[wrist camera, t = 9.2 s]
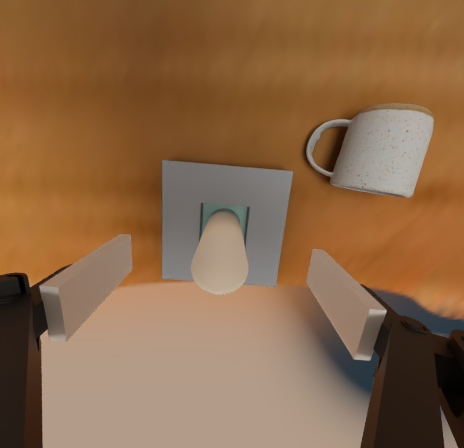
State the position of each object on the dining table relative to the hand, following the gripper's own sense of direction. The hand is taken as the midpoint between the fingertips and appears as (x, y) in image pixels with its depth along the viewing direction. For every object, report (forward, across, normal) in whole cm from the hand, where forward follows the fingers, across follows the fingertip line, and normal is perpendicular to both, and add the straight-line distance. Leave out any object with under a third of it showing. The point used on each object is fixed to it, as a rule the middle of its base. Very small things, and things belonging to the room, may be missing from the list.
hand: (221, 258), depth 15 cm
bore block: (+13, 0, -1) cm, 13 cm away
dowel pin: (+11, 0, -1) cm, 11 cm away
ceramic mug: (+13, +14, +9) cm, 21 cm away
